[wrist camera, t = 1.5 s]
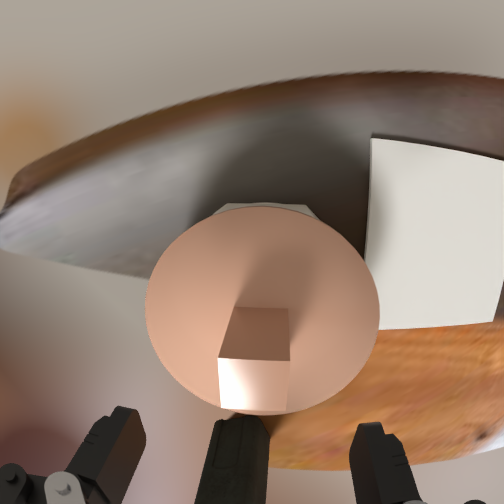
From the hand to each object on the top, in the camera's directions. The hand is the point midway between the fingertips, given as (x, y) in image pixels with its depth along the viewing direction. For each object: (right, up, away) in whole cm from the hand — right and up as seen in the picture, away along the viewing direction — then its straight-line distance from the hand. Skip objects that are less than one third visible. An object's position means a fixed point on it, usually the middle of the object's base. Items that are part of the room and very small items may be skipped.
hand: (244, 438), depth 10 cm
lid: (+1, +2, +9) cm, 9 cm away
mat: (+16, +7, +12) cm, 22 cm away
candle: (-1, -12, +19) cm, 23 cm away
